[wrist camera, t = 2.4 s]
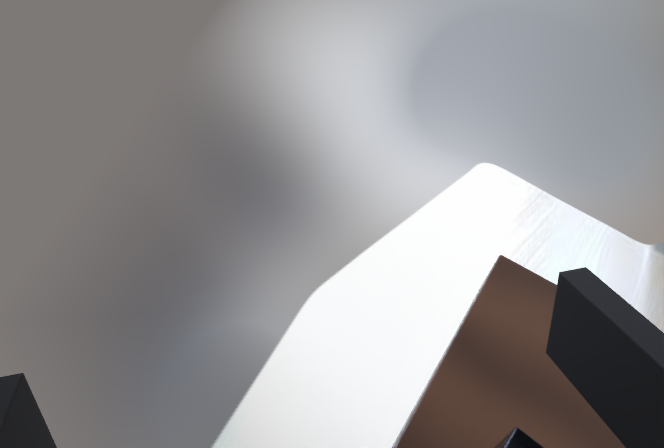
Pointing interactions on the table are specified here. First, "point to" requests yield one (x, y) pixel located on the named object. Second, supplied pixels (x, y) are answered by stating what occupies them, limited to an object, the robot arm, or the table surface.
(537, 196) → the table surface
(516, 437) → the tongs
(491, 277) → the pedestal
